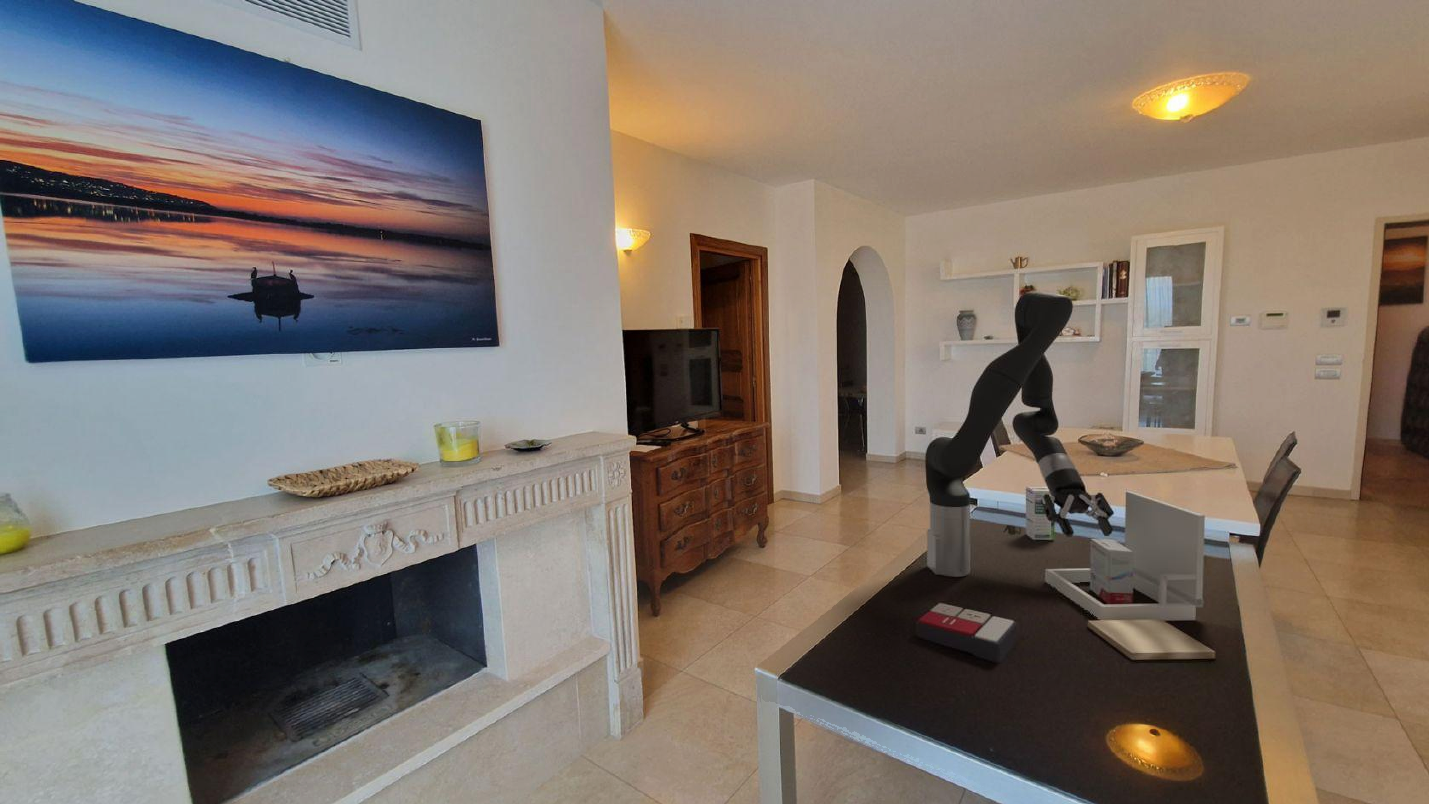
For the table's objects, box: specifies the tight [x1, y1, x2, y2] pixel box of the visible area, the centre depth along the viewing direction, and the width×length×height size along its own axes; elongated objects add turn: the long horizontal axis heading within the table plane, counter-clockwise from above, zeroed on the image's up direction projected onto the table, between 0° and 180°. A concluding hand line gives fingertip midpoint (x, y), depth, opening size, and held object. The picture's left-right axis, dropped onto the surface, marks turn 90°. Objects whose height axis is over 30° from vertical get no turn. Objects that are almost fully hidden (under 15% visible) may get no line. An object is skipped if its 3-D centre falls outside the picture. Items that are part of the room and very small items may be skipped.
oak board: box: [1087, 619, 1216, 661], centre depth 102 cm, size 14×12×1 cm
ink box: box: [1089, 538, 1134, 604], centre depth 120 cm, size 9×5×12 cm, turn 168°
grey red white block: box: [915, 602, 1019, 664], centre depth 105 cm, size 11×4×15 cm
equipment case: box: [1044, 490, 1206, 622], centre depth 118 cm, size 19×20×21 cm
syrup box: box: [1025, 486, 1056, 541], centre depth 160 cm, size 6×6×14 cm
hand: (1089, 535), depth 127 cm, fingers open, 8 cm apart
